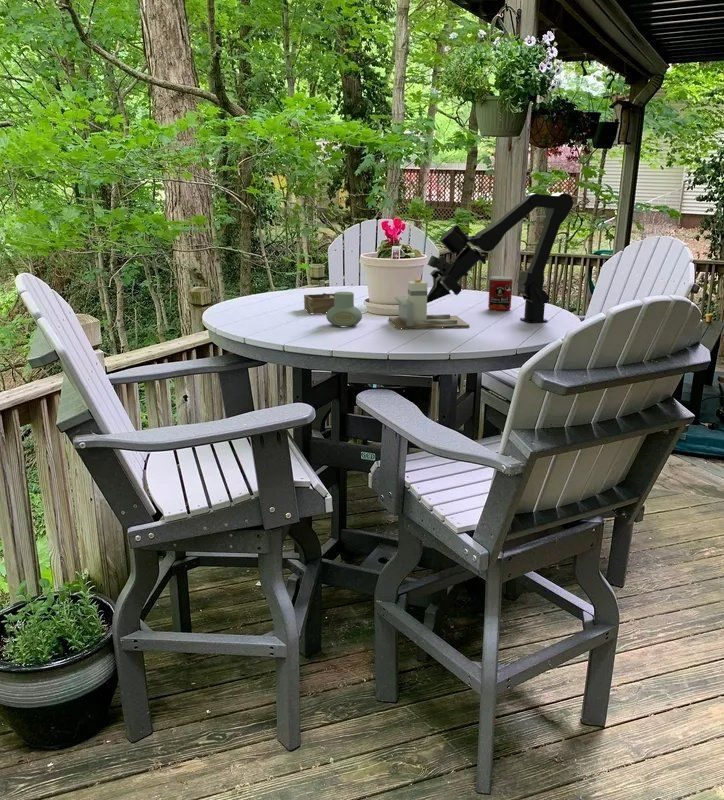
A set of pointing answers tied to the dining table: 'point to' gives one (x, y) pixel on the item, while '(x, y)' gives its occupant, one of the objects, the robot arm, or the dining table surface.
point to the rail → (406, 311)
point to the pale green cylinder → (418, 298)
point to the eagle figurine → (325, 296)
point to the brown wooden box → (318, 303)
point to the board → (431, 322)
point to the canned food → (500, 293)
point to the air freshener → (344, 310)
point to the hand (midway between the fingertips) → (425, 301)
